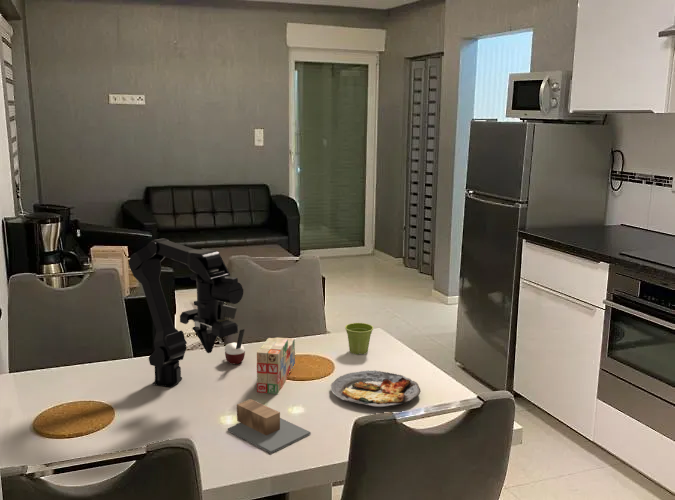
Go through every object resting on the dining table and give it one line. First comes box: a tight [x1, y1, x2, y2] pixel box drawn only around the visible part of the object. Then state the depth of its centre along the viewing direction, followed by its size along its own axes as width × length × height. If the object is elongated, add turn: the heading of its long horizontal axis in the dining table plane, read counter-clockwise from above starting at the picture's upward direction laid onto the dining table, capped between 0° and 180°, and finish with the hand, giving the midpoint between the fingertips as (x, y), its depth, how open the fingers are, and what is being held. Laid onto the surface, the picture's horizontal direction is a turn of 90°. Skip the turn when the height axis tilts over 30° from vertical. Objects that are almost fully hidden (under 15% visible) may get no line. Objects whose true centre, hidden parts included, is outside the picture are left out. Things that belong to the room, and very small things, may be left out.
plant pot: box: [344, 322, 374, 356], centre depth 213 cm, size 9×9×9 cm
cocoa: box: [224, 328, 246, 365], centre depth 201 cm, size 10×6×12 cm, turn 16°
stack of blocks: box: [256, 337, 296, 395], centre depth 189 cm, size 21×6×12 cm, turn 171°
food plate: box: [330, 370, 421, 408], centre depth 181 cm, size 25×23×4 cm
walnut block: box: [236, 398, 281, 435], centre depth 159 cm, size 4×4×11 cm
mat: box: [227, 417, 312, 455], centre depth 157 cm, size 16×13×1 cm
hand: (209, 352), depth 174 cm, fingers closed
